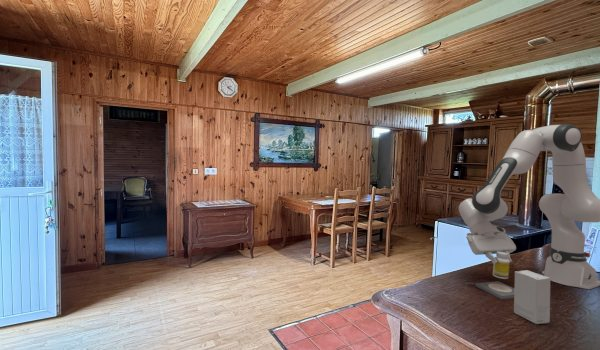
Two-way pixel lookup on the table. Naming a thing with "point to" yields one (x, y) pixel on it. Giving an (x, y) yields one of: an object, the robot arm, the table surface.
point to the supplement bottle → (501, 266)
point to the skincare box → (532, 296)
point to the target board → (497, 289)
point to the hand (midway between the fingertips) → (503, 262)
